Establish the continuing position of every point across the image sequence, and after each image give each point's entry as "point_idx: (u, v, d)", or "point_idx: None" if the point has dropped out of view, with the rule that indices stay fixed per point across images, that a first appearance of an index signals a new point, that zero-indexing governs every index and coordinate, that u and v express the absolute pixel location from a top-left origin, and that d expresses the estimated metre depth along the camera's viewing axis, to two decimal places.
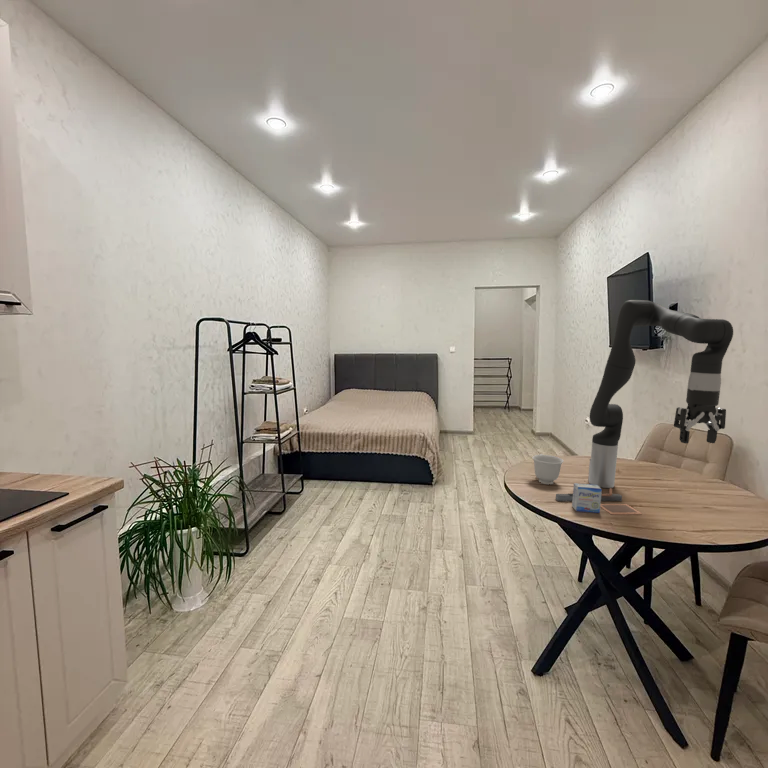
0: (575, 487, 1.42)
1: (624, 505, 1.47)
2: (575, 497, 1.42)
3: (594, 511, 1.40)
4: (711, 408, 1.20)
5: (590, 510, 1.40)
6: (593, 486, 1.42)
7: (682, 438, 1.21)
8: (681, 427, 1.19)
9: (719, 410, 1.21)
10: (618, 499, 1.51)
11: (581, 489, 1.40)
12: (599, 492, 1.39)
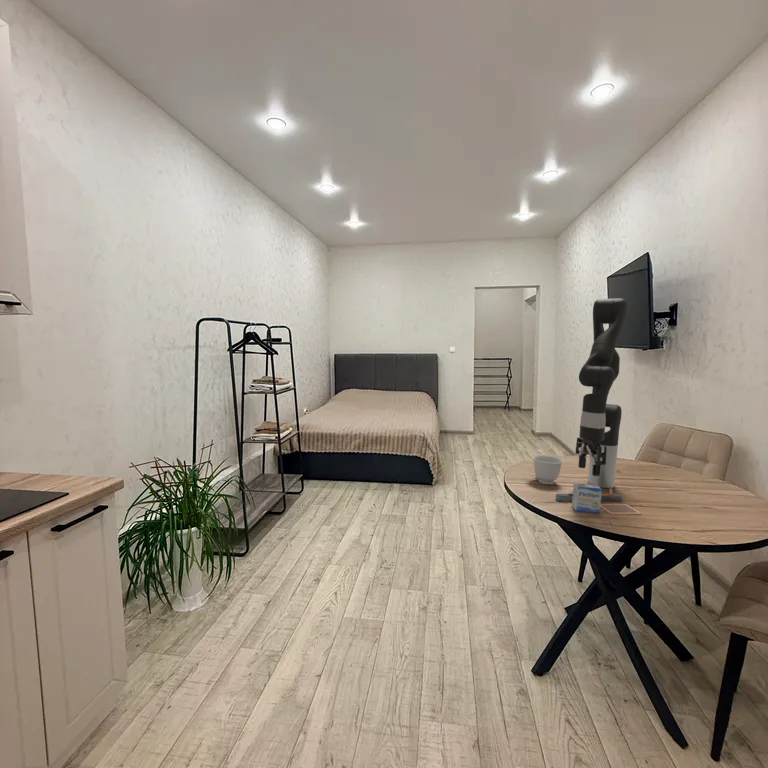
0: (575, 487, 1.42)
1: (624, 505, 1.47)
2: (575, 497, 1.42)
3: (594, 511, 1.40)
4: None
5: (590, 510, 1.40)
6: (593, 486, 1.42)
7: (598, 472, 1.36)
8: None
9: None
10: (618, 499, 1.51)
11: (581, 489, 1.40)
12: (599, 492, 1.39)
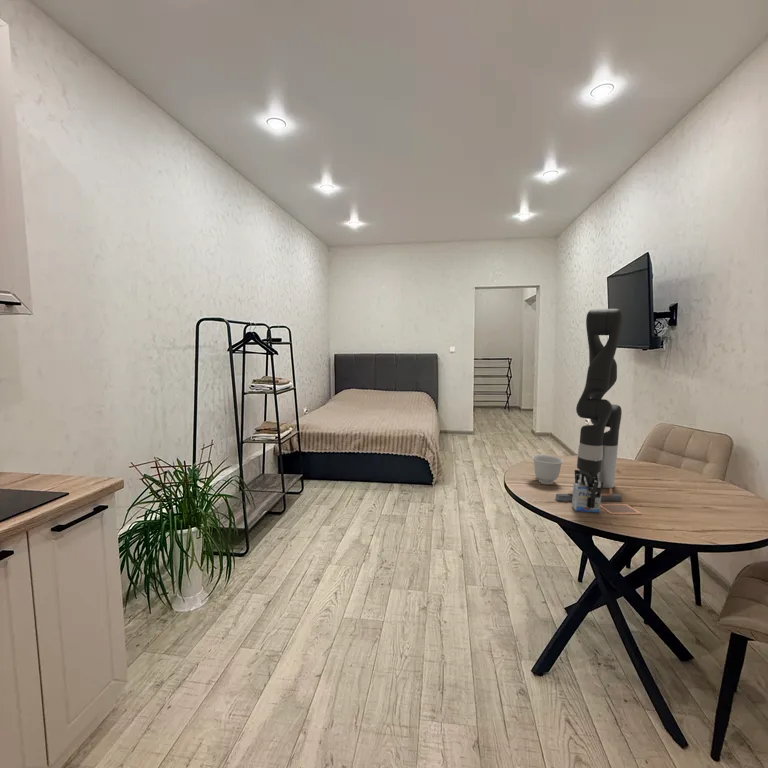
0: (575, 487, 1.42)
1: (624, 505, 1.47)
2: (575, 497, 1.42)
3: (594, 511, 1.40)
4: None
5: (590, 510, 1.40)
6: None
7: (593, 504, 1.39)
8: None
9: None
10: (618, 499, 1.51)
11: (581, 488, 1.40)
12: None
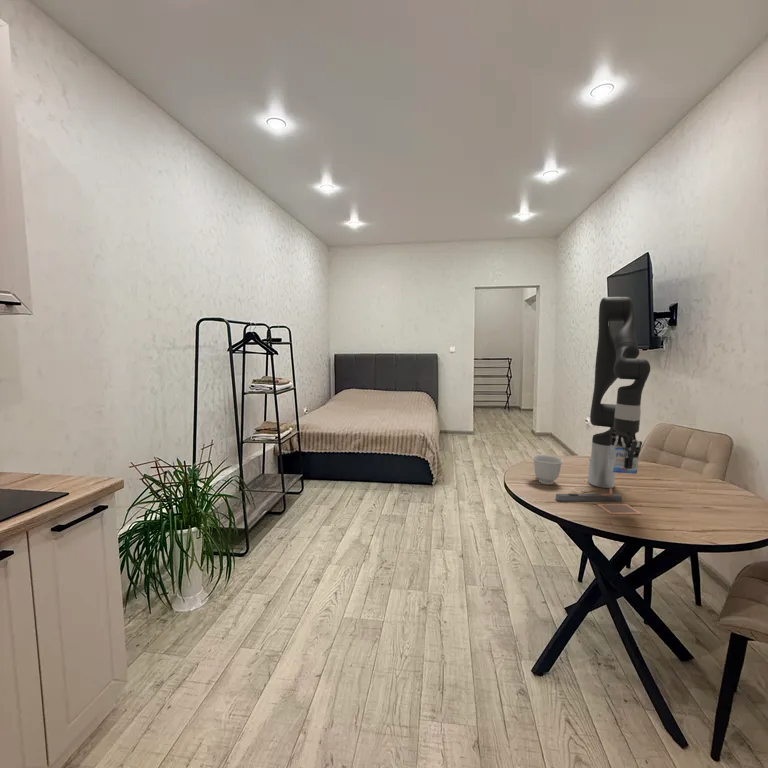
0: (612, 448, 1.42)
1: (624, 505, 1.47)
2: (612, 458, 1.41)
3: (631, 472, 1.40)
4: None
5: (627, 471, 1.40)
6: (630, 447, 1.41)
7: (631, 465, 1.38)
8: None
9: None
10: (618, 499, 1.51)
11: (619, 449, 1.40)
12: None
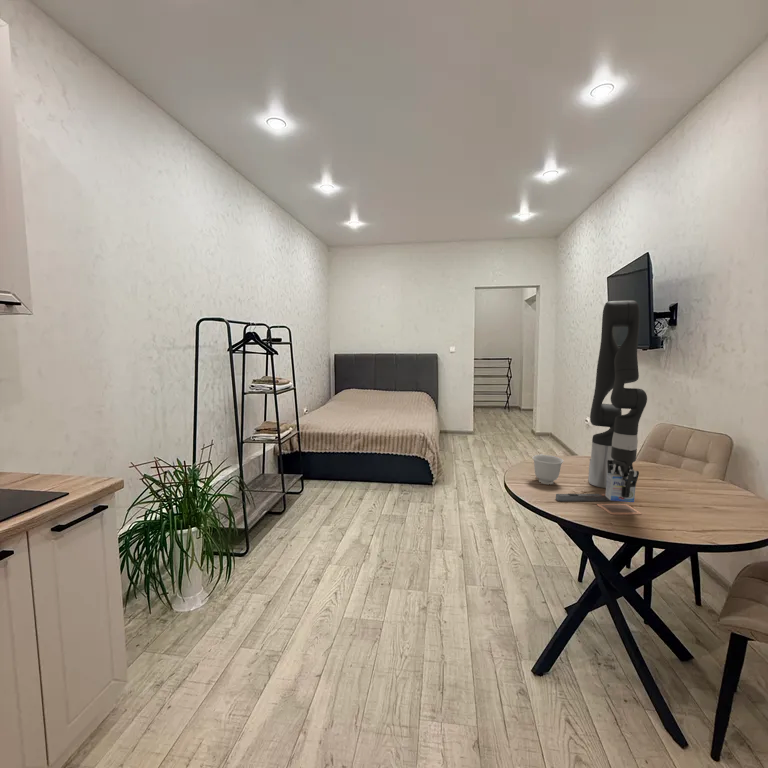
0: (609, 477, 1.43)
1: (624, 505, 1.47)
2: (609, 486, 1.42)
3: (628, 501, 1.41)
4: None
5: (624, 499, 1.41)
6: None
7: (628, 494, 1.39)
8: None
9: None
10: None
11: (616, 478, 1.41)
12: None
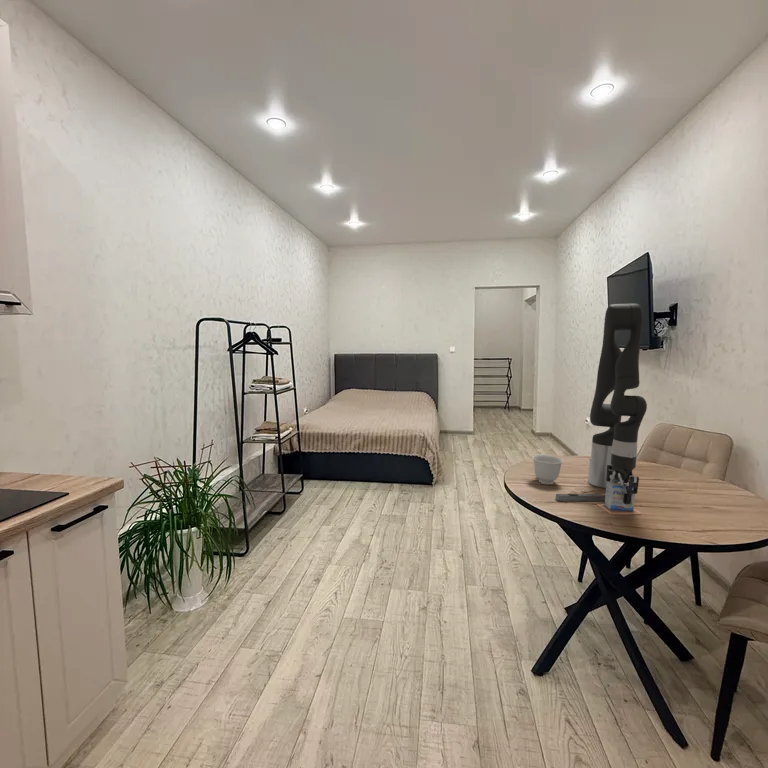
0: (608, 486, 1.43)
1: None
2: (609, 496, 1.43)
3: (628, 510, 1.41)
4: None
5: (624, 508, 1.41)
6: None
7: (629, 501, 1.38)
8: None
9: None
10: None
11: (616, 487, 1.41)
12: None
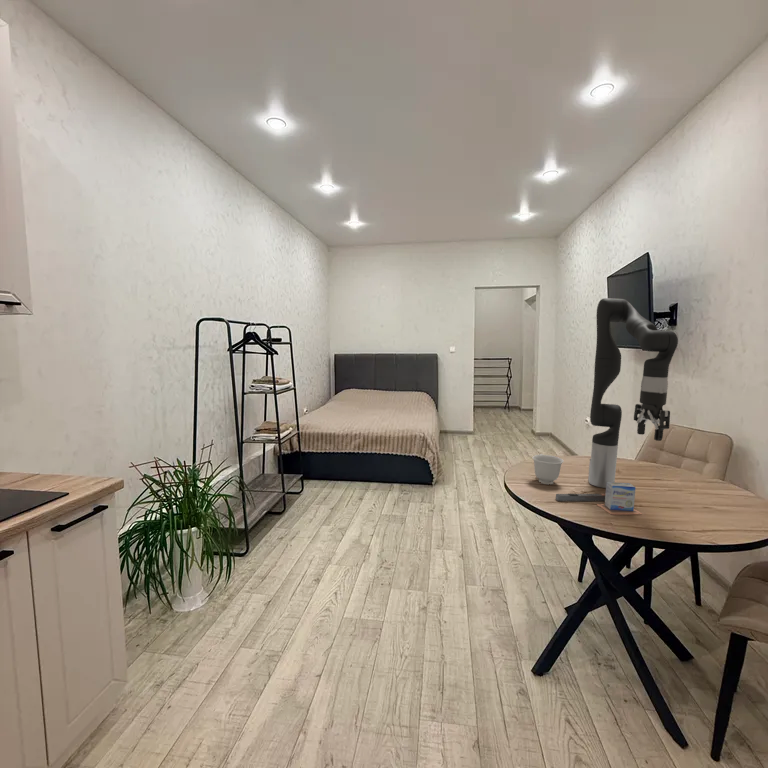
0: (608, 486, 1.43)
1: None
2: (609, 496, 1.43)
3: (628, 510, 1.41)
4: None
5: (624, 508, 1.41)
6: (626, 484, 1.43)
7: (661, 437, 1.35)
8: None
9: None
10: None
11: (616, 487, 1.41)
12: (633, 490, 1.41)
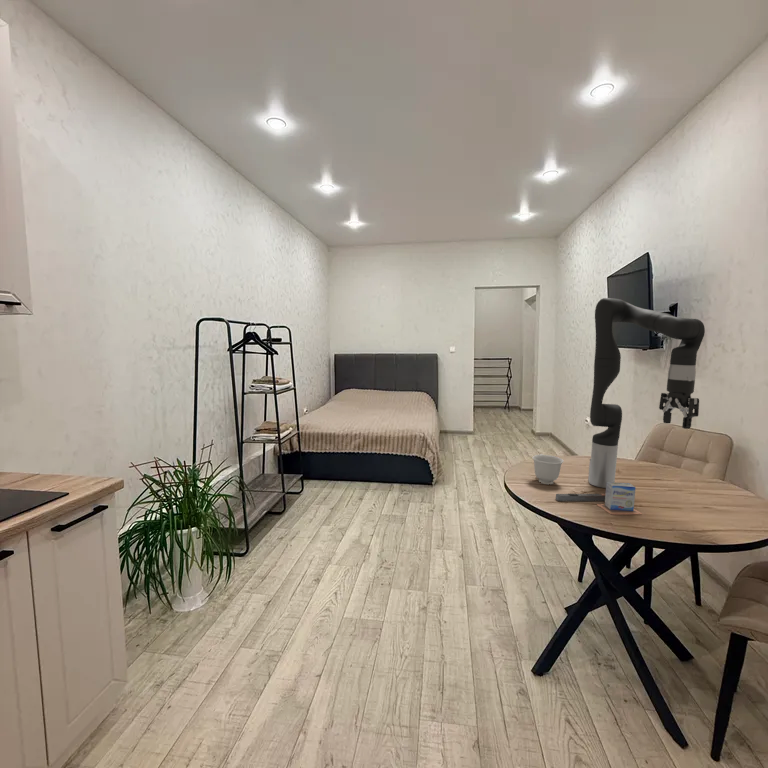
0: (608, 486, 1.43)
1: None
2: (609, 496, 1.43)
3: (628, 510, 1.41)
4: None
5: (624, 508, 1.41)
6: (626, 484, 1.43)
7: (689, 424, 1.35)
8: None
9: None
10: None
11: (616, 487, 1.41)
12: (633, 490, 1.41)
